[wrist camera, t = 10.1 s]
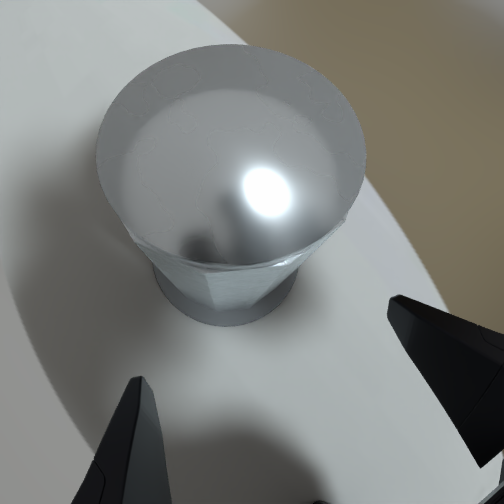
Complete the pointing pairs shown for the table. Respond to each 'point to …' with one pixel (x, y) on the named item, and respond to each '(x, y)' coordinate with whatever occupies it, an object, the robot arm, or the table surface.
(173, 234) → the grey cup
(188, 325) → the table surface
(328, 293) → the table surface
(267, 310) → the rubber pad
